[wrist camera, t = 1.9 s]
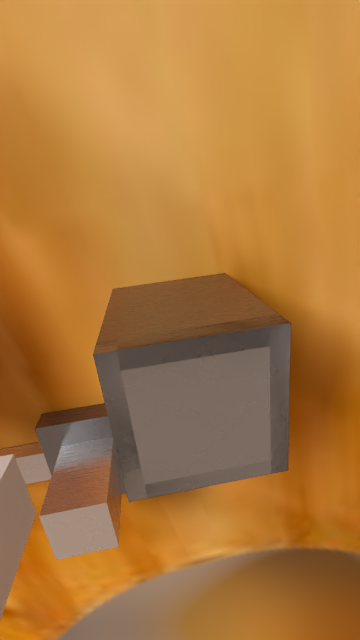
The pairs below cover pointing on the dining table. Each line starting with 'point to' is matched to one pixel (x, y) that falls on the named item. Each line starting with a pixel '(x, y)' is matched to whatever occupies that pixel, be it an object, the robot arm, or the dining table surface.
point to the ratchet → (75, 479)
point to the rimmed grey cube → (194, 384)
